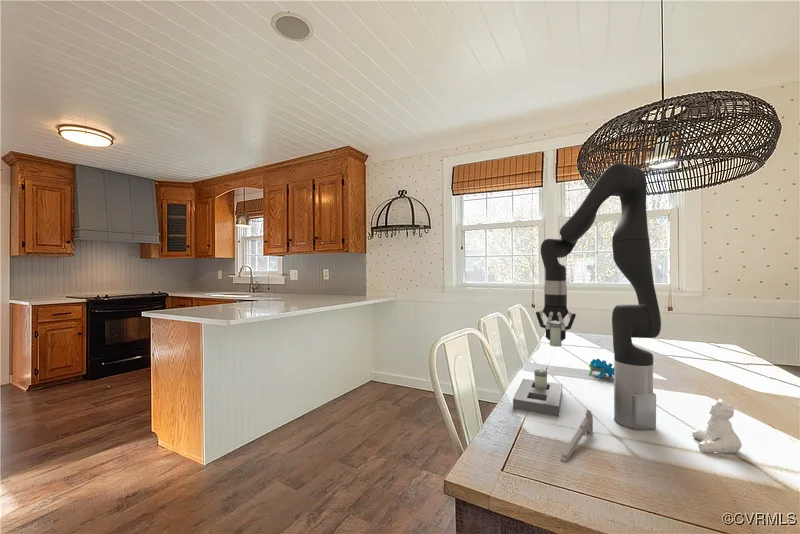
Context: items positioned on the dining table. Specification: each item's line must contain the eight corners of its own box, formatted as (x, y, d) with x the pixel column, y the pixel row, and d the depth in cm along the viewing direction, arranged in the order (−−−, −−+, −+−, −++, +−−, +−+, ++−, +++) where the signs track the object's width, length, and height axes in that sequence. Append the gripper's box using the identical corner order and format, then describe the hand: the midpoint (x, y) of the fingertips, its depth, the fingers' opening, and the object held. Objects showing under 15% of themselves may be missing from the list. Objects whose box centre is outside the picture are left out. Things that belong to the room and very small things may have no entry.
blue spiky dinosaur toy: (624, 375, 140) (610, 358, 137) (618, 387, 137) (604, 371, 135) (598, 371, 150) (584, 355, 147) (592, 383, 147) (578, 367, 145)
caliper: (588, 431, 96) (588, 408, 96) (592, 433, 96) (592, 409, 96) (560, 461, 82) (560, 434, 82) (565, 463, 81) (565, 435, 81)
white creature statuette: (690, 435, 94) (690, 389, 94) (734, 443, 90) (734, 395, 89) (699, 452, 85) (700, 402, 85) (748, 461, 81) (748, 408, 81)
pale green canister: (564, 346, 130) (564, 324, 130) (553, 346, 129) (553, 324, 129) (557, 344, 134) (557, 322, 134) (547, 344, 133) (547, 322, 133)
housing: (558, 416, 105) (558, 389, 105) (512, 408, 111) (512, 382, 111) (562, 392, 125) (562, 369, 125) (523, 386, 131) (523, 364, 131)
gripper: (577, 293, 132) (577, 339, 132) (535, 291, 138) (535, 336, 138) (577, 294, 125) (577, 343, 125) (533, 293, 131) (533, 340, 131)
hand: (555, 339), depth 131 cm, fingers closed on pale green canister, 4 cm apart
